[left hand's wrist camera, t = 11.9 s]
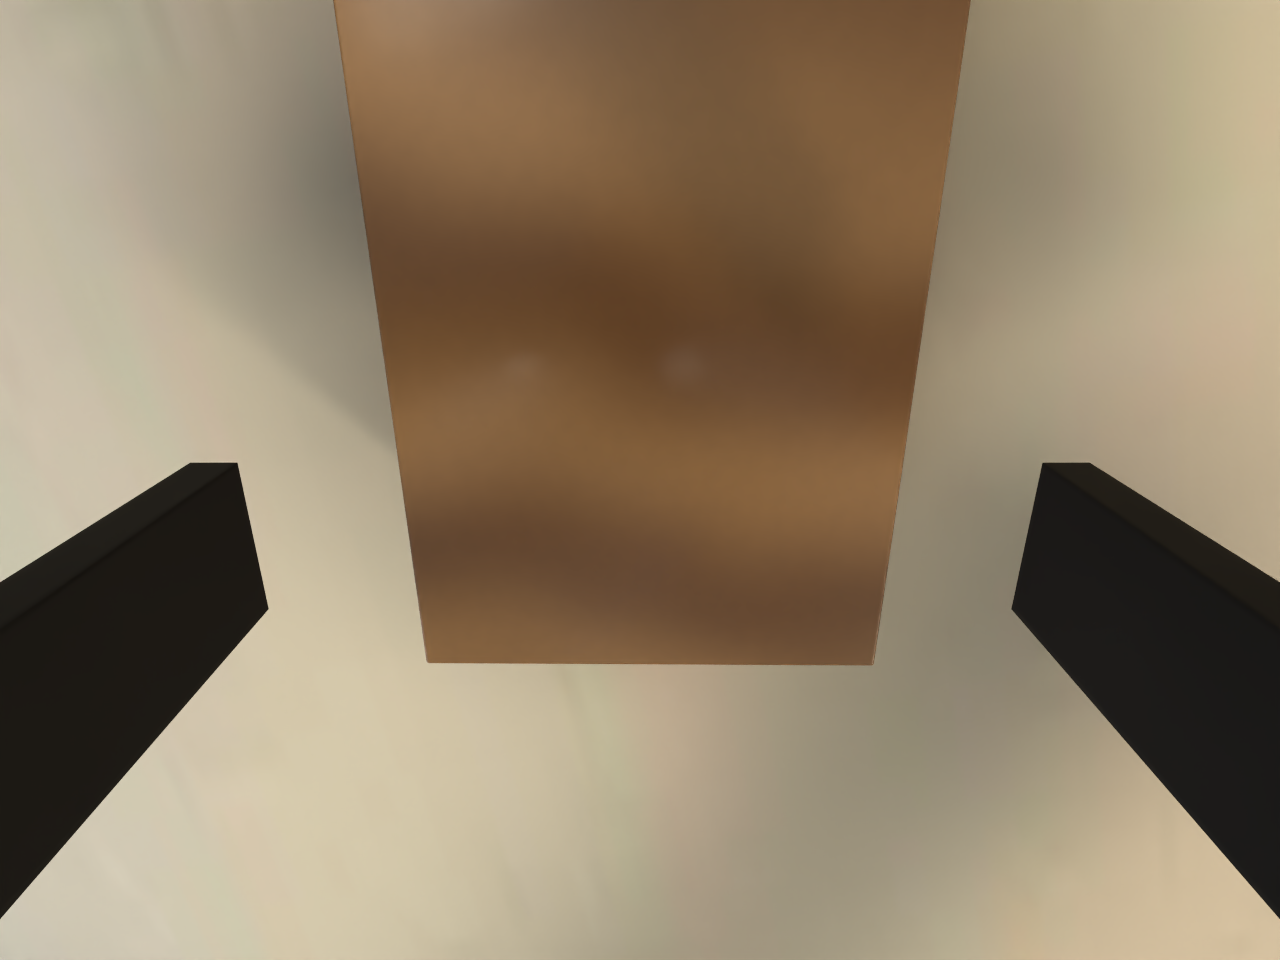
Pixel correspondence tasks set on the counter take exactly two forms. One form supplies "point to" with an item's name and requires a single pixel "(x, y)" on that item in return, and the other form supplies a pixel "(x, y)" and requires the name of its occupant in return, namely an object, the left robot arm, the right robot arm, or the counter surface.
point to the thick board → (651, 312)
